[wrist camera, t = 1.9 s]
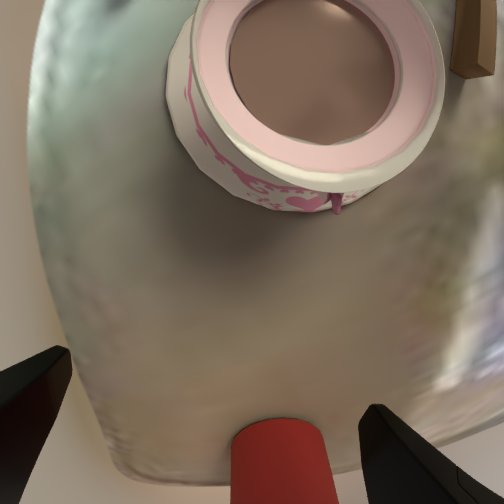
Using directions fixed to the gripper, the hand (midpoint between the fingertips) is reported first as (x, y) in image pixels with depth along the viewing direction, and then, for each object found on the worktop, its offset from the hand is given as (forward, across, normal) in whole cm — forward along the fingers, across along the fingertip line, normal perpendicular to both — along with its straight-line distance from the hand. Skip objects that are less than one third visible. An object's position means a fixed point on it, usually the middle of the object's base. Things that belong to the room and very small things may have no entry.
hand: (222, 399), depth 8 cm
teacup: (+9, -1, -10) cm, 13 cm away
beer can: (+8, -6, +12) cm, 16 cm away
